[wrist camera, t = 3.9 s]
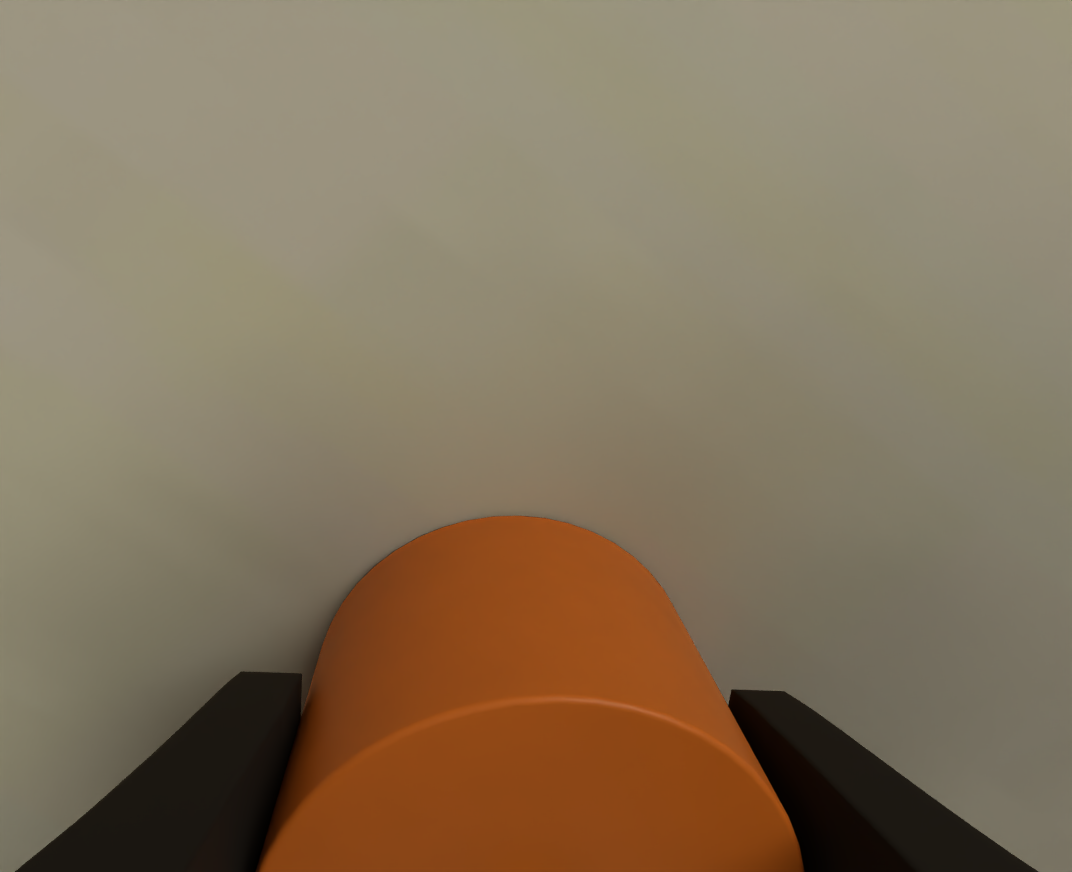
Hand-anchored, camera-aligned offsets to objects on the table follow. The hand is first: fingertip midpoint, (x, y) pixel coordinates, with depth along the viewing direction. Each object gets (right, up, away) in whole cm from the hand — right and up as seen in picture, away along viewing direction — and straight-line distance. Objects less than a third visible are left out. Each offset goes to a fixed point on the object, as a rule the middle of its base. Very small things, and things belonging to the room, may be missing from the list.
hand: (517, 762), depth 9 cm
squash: (0, 0, +1) cm, 1 cm away
